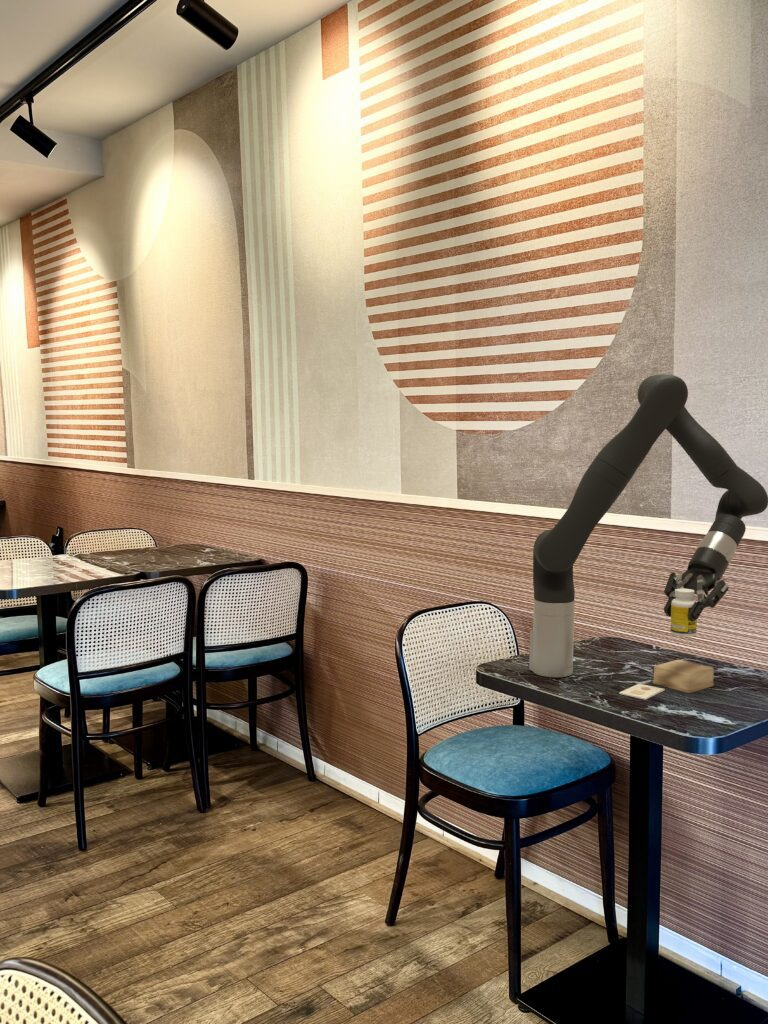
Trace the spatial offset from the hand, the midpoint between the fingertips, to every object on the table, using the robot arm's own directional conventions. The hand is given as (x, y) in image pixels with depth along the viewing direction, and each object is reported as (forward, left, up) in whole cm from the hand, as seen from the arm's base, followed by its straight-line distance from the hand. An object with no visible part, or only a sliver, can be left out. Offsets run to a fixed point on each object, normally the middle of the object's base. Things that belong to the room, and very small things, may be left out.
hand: (678, 616), depth 194 cm
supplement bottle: (0, +2, -4) cm, 5 cm away
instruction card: (-3, -8, -16) cm, 18 cm away
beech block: (-1, +4, -16) cm, 17 cm away
